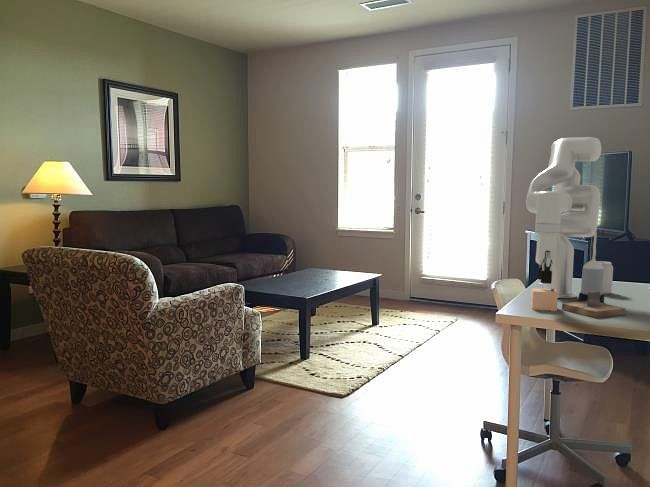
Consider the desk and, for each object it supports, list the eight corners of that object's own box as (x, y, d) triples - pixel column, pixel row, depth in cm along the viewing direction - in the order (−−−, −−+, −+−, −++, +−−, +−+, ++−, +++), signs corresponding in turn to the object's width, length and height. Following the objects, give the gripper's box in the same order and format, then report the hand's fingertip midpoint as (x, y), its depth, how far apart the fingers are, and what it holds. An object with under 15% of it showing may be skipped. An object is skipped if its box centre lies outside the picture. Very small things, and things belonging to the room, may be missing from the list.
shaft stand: (562, 309, 183) (563, 289, 182) (590, 306, 188) (591, 287, 187) (595, 318, 171) (596, 296, 170) (625, 314, 176) (626, 293, 175)
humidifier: (589, 305, 189) (594, 232, 187) (573, 300, 197) (577, 230, 194) (609, 304, 191) (614, 232, 189) (592, 299, 199) (596, 230, 197)
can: (592, 290, 218) (594, 259, 217) (613, 292, 213) (615, 261, 212) (587, 292, 212) (589, 261, 211) (608, 295, 207) (610, 263, 206)
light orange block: (530, 305, 188) (531, 286, 187) (554, 307, 186) (555, 287, 185) (532, 309, 182) (533, 289, 181) (556, 311, 180) (557, 290, 179)
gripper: (532, 228, 190) (530, 277, 192) (537, 229, 174) (534, 284, 175) (556, 228, 188) (553, 279, 190) (563, 230, 172) (560, 285, 173)
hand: (544, 281), depth 182 cm, fingers open, 9 cm apart
